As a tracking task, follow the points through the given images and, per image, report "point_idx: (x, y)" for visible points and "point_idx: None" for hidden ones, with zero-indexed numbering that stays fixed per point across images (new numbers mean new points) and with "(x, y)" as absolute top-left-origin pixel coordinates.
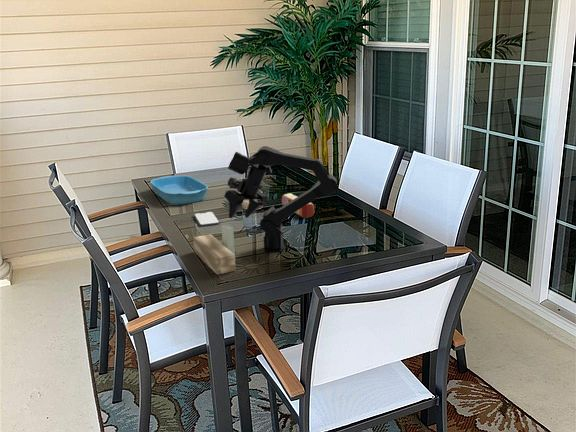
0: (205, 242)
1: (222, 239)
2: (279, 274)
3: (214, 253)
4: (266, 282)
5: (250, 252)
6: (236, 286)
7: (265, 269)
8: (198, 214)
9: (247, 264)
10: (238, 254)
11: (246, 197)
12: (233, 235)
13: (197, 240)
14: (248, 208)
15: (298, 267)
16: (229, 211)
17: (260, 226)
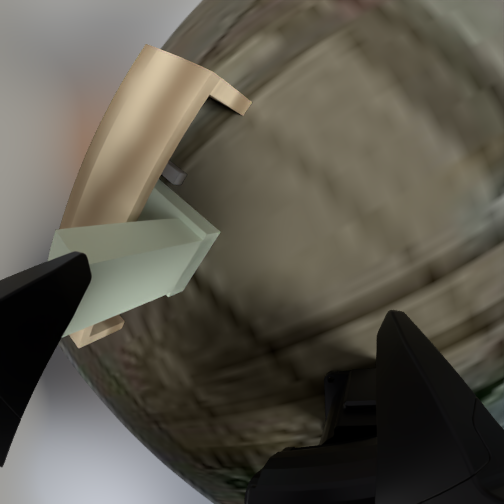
0: (106, 149)
1: (132, 224)
2: (165, 445)
3: None
4: (119, 418)
5: (285, 320)
6: (76, 357)
7: (170, 412)
8: None
9: (171, 351)
10: (240, 274)
11: None
12: (99, 321)
13: (115, 96)
14: (424, 419)
15: (227, 483)
16: (17, 278)
17: (270, 459)
